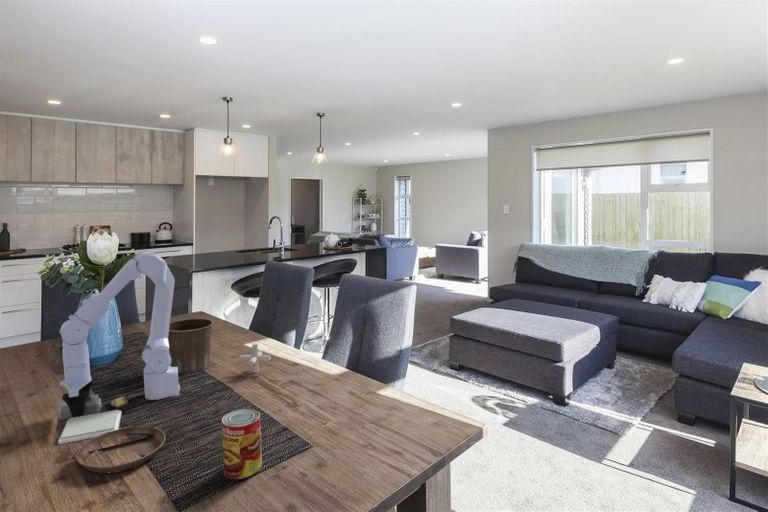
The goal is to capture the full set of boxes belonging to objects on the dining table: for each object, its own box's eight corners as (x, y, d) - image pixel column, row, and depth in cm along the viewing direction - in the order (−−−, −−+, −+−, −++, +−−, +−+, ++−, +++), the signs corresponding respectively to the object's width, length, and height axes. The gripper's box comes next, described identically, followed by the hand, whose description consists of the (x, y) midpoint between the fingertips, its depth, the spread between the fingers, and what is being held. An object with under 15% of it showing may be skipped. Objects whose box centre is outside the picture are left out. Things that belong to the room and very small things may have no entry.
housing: (101, 411, 126) (100, 394, 126) (99, 417, 122) (98, 400, 122) (62, 417, 122) (60, 400, 122) (58, 425, 118) (57, 407, 118)
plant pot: (204, 377, 151) (201, 330, 149) (156, 377, 151) (153, 330, 149) (222, 360, 167) (220, 318, 165) (179, 360, 167) (177, 318, 165)
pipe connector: (266, 377, 150) (265, 348, 149) (236, 377, 150) (235, 348, 149) (274, 367, 160) (273, 339, 159) (246, 366, 160) (245, 339, 159)
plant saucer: (178, 436, 112) (177, 424, 112) (143, 479, 95) (142, 465, 94) (106, 437, 112) (105, 426, 111) (57, 481, 94) (56, 467, 94)
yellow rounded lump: (122, 394, 129) (112, 398, 126) (128, 400, 128) (118, 404, 125) (120, 402, 130) (109, 406, 127) (126, 408, 129) (116, 412, 126)
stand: (121, 417, 122) (121, 408, 122) (117, 437, 111) (116, 427, 111) (68, 426, 117) (67, 417, 116) (58, 449, 106) (57, 439, 106)
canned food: (216, 471, 97) (214, 418, 95) (247, 455, 103) (245, 405, 102) (238, 485, 92) (235, 429, 91) (269, 467, 98) (267, 415, 97)
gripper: (64, 358, 125) (68, 404, 127) (52, 375, 112) (56, 427, 114) (93, 354, 128) (97, 399, 130) (85, 371, 115) (89, 421, 117)
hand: (80, 412), depth 122 cm, fingers open, 7 cm apart
